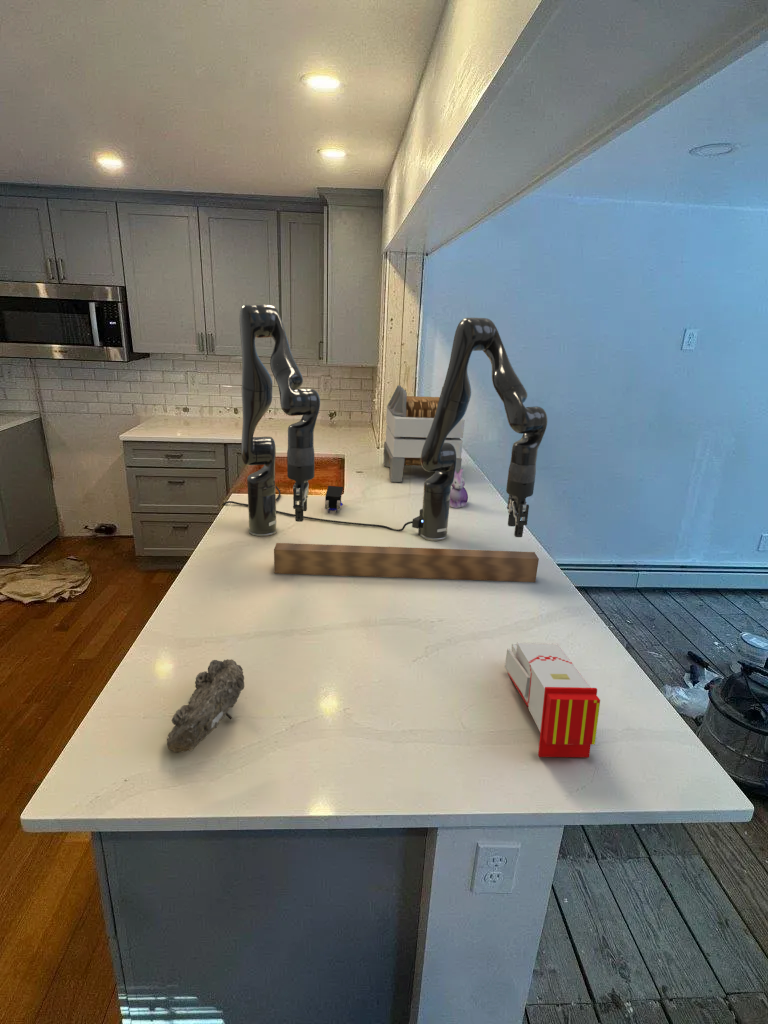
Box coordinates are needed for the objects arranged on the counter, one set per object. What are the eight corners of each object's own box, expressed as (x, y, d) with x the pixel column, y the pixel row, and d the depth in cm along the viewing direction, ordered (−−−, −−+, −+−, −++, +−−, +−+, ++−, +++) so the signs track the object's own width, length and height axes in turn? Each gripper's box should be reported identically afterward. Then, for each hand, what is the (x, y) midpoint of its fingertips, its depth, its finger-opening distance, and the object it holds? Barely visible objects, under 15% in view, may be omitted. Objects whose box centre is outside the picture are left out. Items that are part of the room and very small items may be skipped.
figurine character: (341, 518, 215) (343, 501, 228) (341, 500, 212) (343, 484, 225) (323, 518, 215) (326, 501, 228) (323, 500, 211) (326, 484, 225)
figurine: (454, 509, 226) (458, 473, 221) (440, 502, 235) (443, 467, 229) (474, 507, 230) (477, 471, 225) (459, 499, 239) (463, 465, 234)
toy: (553, 625, 127) (610, 695, 97) (548, 680, 129) (601, 765, 100) (500, 624, 126) (540, 694, 97) (495, 679, 129) (533, 764, 100)
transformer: (382, 463, 289) (386, 382, 275) (445, 464, 293) (451, 384, 279) (390, 482, 257) (394, 392, 243) (460, 483, 261) (468, 394, 247)
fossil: (192, 660, 117) (244, 628, 112) (224, 691, 120) (276, 661, 115) (142, 746, 98) (202, 712, 93) (182, 779, 101) (242, 748, 96)
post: (531, 574, 173) (534, 551, 171) (535, 582, 168) (538, 558, 166) (277, 566, 171) (276, 542, 169) (274, 573, 167) (273, 549, 164)
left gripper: (291, 454, 164) (291, 507, 170) (283, 467, 151) (284, 524, 156) (316, 455, 165) (316, 508, 170) (311, 468, 151) (311, 525, 157)
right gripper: (502, 470, 167) (497, 522, 172) (513, 484, 153) (507, 540, 159) (528, 471, 167) (521, 523, 172) (541, 485, 153) (533, 541, 159)
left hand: (301, 515), depth 163 cm, fingers open, 8 cm apart
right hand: (514, 531), depth 165 cm, fingers open, 8 cm apart
